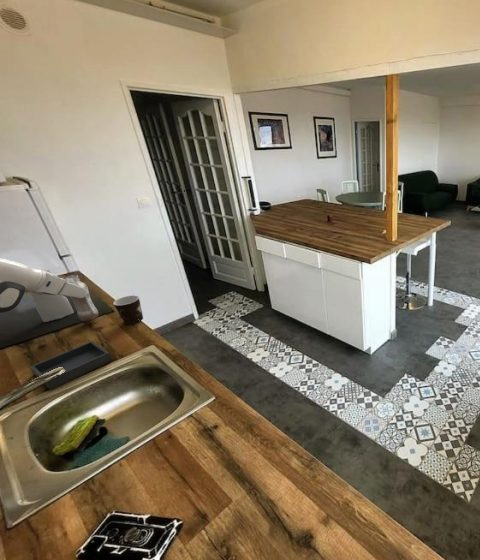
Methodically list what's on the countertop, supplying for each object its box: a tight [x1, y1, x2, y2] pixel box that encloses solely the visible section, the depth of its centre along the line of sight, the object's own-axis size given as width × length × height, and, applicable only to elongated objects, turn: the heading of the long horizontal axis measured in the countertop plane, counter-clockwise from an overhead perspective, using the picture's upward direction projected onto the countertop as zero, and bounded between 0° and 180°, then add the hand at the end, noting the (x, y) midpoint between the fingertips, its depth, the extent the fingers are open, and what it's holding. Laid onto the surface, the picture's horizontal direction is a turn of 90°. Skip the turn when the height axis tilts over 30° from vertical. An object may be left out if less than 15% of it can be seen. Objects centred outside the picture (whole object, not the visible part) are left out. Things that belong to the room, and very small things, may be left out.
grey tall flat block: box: [28, 269, 75, 323], centre depth 132 cm, size 11×4×22 cm, turn 146°
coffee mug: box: [112, 294, 144, 325], centre depth 132 cm, size 12×9×10 cm
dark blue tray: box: [29, 340, 113, 391], centre depth 107 cm, size 17×14×4 cm
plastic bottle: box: [65, 274, 99, 322], centre depth 128 cm, size 6×7×20 cm
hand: (82, 294), depth 128 cm, fingers closed on plastic bottle, 6 cm apart
